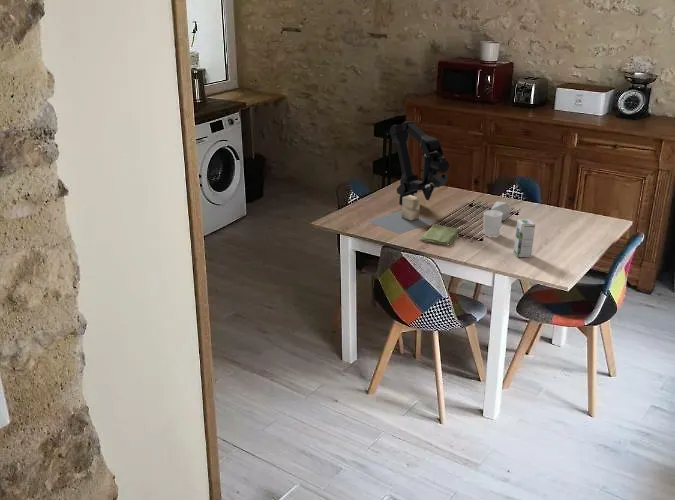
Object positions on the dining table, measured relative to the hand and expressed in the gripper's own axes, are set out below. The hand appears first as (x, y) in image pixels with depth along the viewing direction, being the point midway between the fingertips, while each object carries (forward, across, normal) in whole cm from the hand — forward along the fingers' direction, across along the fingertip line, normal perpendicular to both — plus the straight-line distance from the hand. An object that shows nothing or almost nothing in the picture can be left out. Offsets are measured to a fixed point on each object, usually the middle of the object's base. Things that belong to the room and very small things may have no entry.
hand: (427, 200), depth 322 cm
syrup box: (+8, -4, -56) cm, 57 cm away
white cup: (+8, +4, -34) cm, 35 cm away
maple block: (+6, -11, 0) cm, 13 cm away
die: (+8, +23, -24) cm, 34 cm away
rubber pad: (+8, -17, 0) cm, 19 cm away
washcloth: (+8, -15, -22) cm, 28 cm away
